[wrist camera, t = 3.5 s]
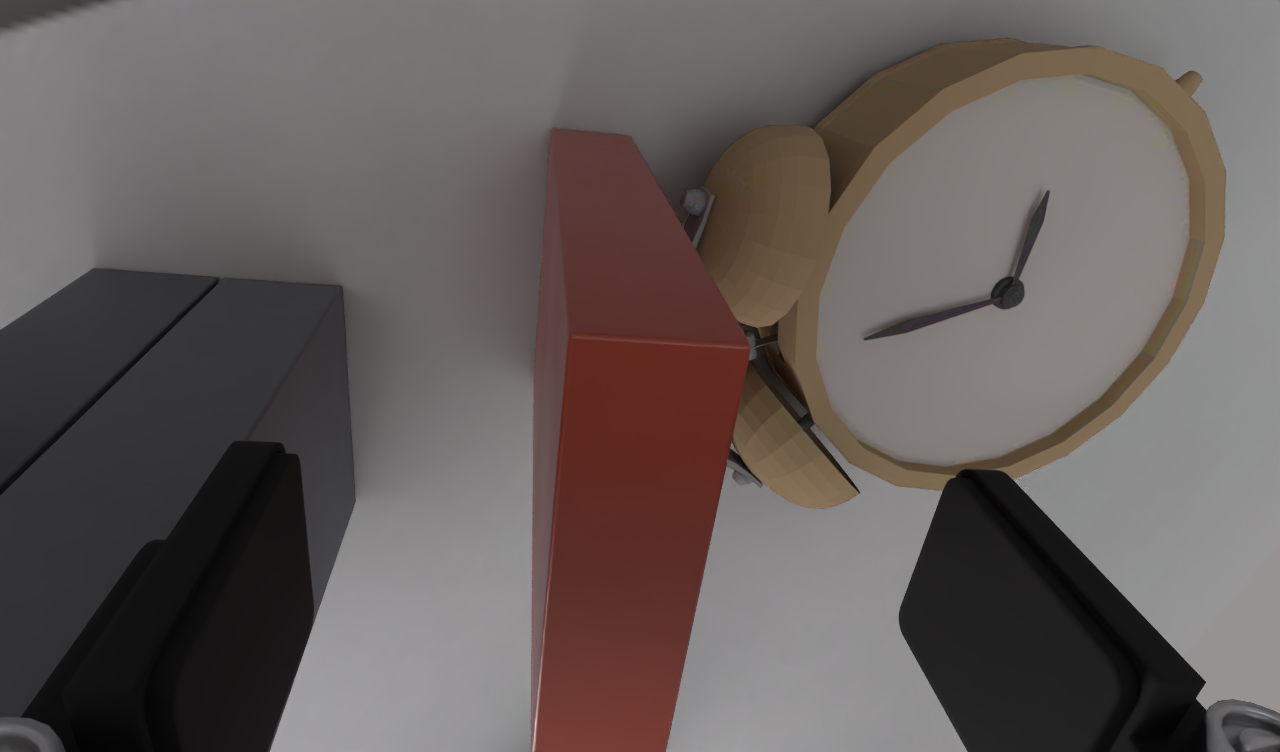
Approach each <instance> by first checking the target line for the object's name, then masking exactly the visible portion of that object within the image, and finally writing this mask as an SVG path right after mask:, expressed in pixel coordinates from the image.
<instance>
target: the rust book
mask: <svg viewBox="0 0 1280 752" xmlns="http://www.w3.org/2000/svg"><path fill="white" fill-rule="evenodd" d="M750 352H751V344H750V342H749V341H748V339H747V337H746V336H745V334H744V332H743V330H742V329H741V327H740V325H739V323H738V322H737V320H736V318H735V316H734V315H733V313H732V311H731V310H730V308H729V306H728V304H727V303H726V301H725V299H724V297H723V296H722V294H721V292H720V290H719V289H718V287H717V285H716V283H715V282H714V280H713V278H712V277H711V275H710V273H709V271H708V270H707V268H706V266H705V264H704V263H703V261H702V259H701V257H700V256H699V254H698V252H697V251H696V249H695V247H694V245H693V244H692V242H691V240H690V238H689V237H688V235H687V233H686V231H685V230H684V228H683V226H682V225H681V223H680V221H679V219H678V218H677V216H676V214H675V212H674V211H673V209H672V207H671V205H670V204H669V202H668V200H667V198H666V197H665V195H664V193H663V192H662V190H661V188H660V186H659V185H658V183H657V181H656V179H655V178H654V176H653V174H652V172H651V171H650V169H649V167H648V166H647V164H646V162H645V160H644V159H643V157H642V155H641V153H640V152H639V150H638V148H637V146H636V145H635V143H634V141H633V140H632V138H631V137H630V136H624V135H615V134H606V133H596V132H587V131H577V130H568V129H559V128H551V130H550V142H549V157H548V172H547V187H546V202H545V217H544V232H543V247H542V262H541V277H540V292H539V307H538V322H537V337H536V352H535V367H534V402H533V526H532V650H531V752H666V749H667V744H668V739H669V734H670V730H671V725H672V720H673V715H674V711H675V706H676V701H677V697H678V692H679V687H680V682H681V678H682V673H683V668H684V664H685V659H686V654H687V649H688V645H689V640H690V635H691V630H692V626H693V621H694V616H695V612H696V607H697V602H698V597H699V593H700V588H701V583H702V578H703V574H704V569H705V564H706V560H707V555H708V550H709V545H710V541H711V536H712V531H713V527H714V522H715V517H716V512H717V508H718V503H719V498H720V493H721V489H722V484H723V479H724V475H725V470H726V465H727V460H728V456H729V451H730V446H731V442H732V437H733V432H734V427H735V423H736V418H737V413H738V408H739V404H740V399H741V394H742V390H743V385H744V380H745V375H746V371H747V366H748V361H749V356H750Z"/></svg>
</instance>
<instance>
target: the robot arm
mask: <svg viewBox="0 0 1280 752" xmlns="http://www.w3.org/2000/svg"><path fill="white" fill-rule="evenodd" d="M313 617H314V600H313V589H312V579H311V568H310V558H309V548H308V537H307V527H306V516H305V506H304V495H303V485H302V474H301V464H300V459H299V456H298V455H297V454H292V453H286V450H285V447H284V445H283V444H282V443H281V442H263V441H238V440H237V441H234V442H233V443H232V444H231V445H230V446H229V447H228V449H227V450H226V452H225V453H224V455H223V456H222V458H221V459H220V460H219V462H218V463H217V465H216V466H215V468H214V469H213V471H212V472H211V474H210V475H209V477H208V478H207V480H206V481H205V483H204V484H203V485H202V487H201V488H200V490H199V491H198V493H197V494H196V496H195V497H194V499H193V500H192V502H191V503H190V505H189V506H188V507H187V509H186V510H185V512H184V513H183V515H182V516H181V518H180V519H179V521H178V522H177V524H176V525H175V527H174V528H173V530H172V531H171V532H170V534H169V535H168V537H167V538H166V540H159V539H154V540H152V541H150V542H148V543H146V544H145V545H144V546H143V547H142V549H141V550H140V551H139V552H138V553H137V555H136V556H135V557H134V559H133V560H132V562H131V563H130V564H129V566H128V567H127V569H126V570H125V571H124V573H123V574H122V576H121V577H120V578H119V580H118V581H117V583H116V584H115V585H114V587H113V588H112V590H111V591H110V592H109V594H108V595H107V597H106V598H105V599H104V601H103V602H102V604H101V605H100V606H99V608H98V609H97V611H96V612H95V613H94V615H93V616H92V618H91V619H90V620H89V622H88V623H87V625H86V626H85V627H84V629H83V630H82V632H81V633H80V634H79V636H78V637H77V639H76V640H75V641H74V643H73V644H72V646H71V647H70V648H69V650H68V651H67V653H66V654H65V655H64V657H63V658H62V660H61V661H60V662H59V664H58V665H57V667H56V668H55V669H54V671H53V672H52V674H51V675H50V676H49V678H48V679H47V681H46V682H45V683H44V685H43V686H42V688H41V689H40V690H39V692H38V693H37V695H36V696H35V697H34V699H33V700H32V702H31V703H30V704H29V706H28V707H27V709H26V710H25V711H24V713H23V714H22V716H21V717H20V718H14V717H2V718H0V752H268V750H269V747H270V744H271V742H272V739H273V736H274V733H275V730H276V728H277V725H278V722H279V719H280V717H281V714H282V711H283V708H284V705H285V703H286V700H287V697H288V694H289V691H290V689H291V686H292V683H293V680H294V677H295V675H296V672H297V669H298V666H299V663H300V661H301V658H302V655H303V652H304V650H305V647H306V644H307V641H308V638H309V636H310V632H311V629H312V624H313ZM899 625H900V629H901V632H902V634H903V636H904V638H905V640H906V642H907V644H908V645H909V647H910V649H911V651H912V653H913V654H914V656H915V658H916V660H917V662H918V663H919V665H920V667H921V669H922V671H923V672H924V674H925V676H926V678H927V680H928V681H929V683H930V685H931V687H932V688H933V690H934V692H935V694H936V696H937V697H938V699H939V701H940V703H941V705H942V706H943V708H944V710H945V712H946V714H947V715H948V717H949V719H950V721H951V723H952V724H953V726H954V728H955V730H956V732H957V733H958V735H959V737H960V739H961V741H962V742H963V744H964V746H965V748H966V750H967V751H968V752H1280V714H1279V713H1277V712H1275V711H1273V710H1271V709H1268V708H1265V707H1262V706H1260V705H1257V704H1254V703H1251V702H1245V701H1239V700H1234V699H1231V700H1222V701H1217V702H1216V703H1214V704H1213V705H1211V706H1210V707H1209V708H1208V709H1207V711H1206V709H1205V708H1204V707H1203V706H1202V705H1201V704H1200V703H1199V702H1198V701H1197V700H1196V697H1197V695H1198V694H1199V692H1200V691H1201V689H1202V688H1203V686H1204V684H1205V683H1206V682H1205V681H1204V680H1203V679H1202V677H1201V676H1200V675H1199V674H1198V673H1197V672H1196V671H1195V670H1194V669H1193V668H1192V667H1191V666H1190V665H1189V664H1188V663H1187V662H1186V661H1185V660H1184V659H1183V658H1182V657H1181V655H1180V654H1179V653H1178V652H1177V651H1176V650H1175V649H1174V648H1173V647H1172V646H1171V645H1170V644H1169V643H1168V642H1167V641H1166V640H1165V639H1164V638H1163V637H1162V636H1161V635H1160V633H1159V632H1158V631H1157V630H1156V629H1155V628H1154V627H1153V626H1152V625H1151V624H1150V623H1149V622H1148V621H1147V620H1146V619H1145V618H1144V617H1143V616H1142V615H1141V614H1140V613H1139V611H1138V610H1137V609H1136V608H1135V607H1134V606H1133V605H1132V604H1131V603H1130V602H1129V601H1128V600H1127V599H1126V598H1125V597H1124V596H1123V595H1122V594H1121V593H1120V592H1119V591H1118V589H1117V588H1116V587H1115V586H1114V585H1113V584H1112V583H1111V582H1110V581H1109V580H1108V579H1107V578H1106V577H1105V576H1104V575H1103V574H1102V573H1101V572H1100V571H1099V570H1098V569H1097V567H1096V566H1095V565H1094V564H1093V563H1092V562H1091V561H1090V560H1089V559H1088V558H1087V557H1086V556H1085V555H1084V554H1083V553H1082V552H1081V551H1080V550H1079V549H1078V548H1077V547H1076V545H1075V544H1074V543H1073V542H1072V541H1071V540H1070V539H1069V538H1068V537H1067V536H1066V535H1065V534H1064V533H1063V532H1062V531H1061V530H1060V529H1059V528H1058V527H1057V526H1056V525H1055V523H1054V522H1053V521H1052V520H1051V519H1050V518H1049V517H1048V516H1047V515H1046V514H1045V513H1044V512H1043V511H1042V510H1041V509H1040V508H1039V507H1038V506H1037V505H1036V504H1035V503H1034V502H1033V500H1032V499H1031V498H1030V497H1029V496H1028V495H1027V494H1026V493H1025V492H1024V491H1023V490H1022V489H1021V488H1020V487H1019V486H1018V485H1017V484H1016V483H1015V482H1014V481H1013V480H1012V478H1011V477H1010V476H1009V475H1008V474H1006V473H1005V472H1003V471H1000V470H983V469H964V470H961V471H960V472H959V473H958V474H957V475H956V477H955V478H951V479H949V480H948V481H947V483H946V485H945V487H944V489H943V492H942V495H941V497H940V500H939V503H938V506H937V508H936V511H935V514H934V517H933V519H932V522H931V525H930V528H929V530H928V533H927V536H926V539H925V541H924V544H923V547H922V550H921V552H920V555H919V558H918V561H917V563H916V566H915V569H914V572H913V574H912V577H911V580H910V582H909V585H908V588H907V591H906V593H905V596H904V599H903V602H902V604H901V607H900V611H899Z"/></svg>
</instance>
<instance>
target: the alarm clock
mask: <svg viewBox="0 0 1280 752" xmlns="http://www.w3.org/2000/svg"><path fill="white" fill-rule="evenodd" d="M1201 82H1202V77H1201V75H1200V74H1198V73H1197V72H1194V71H1189V72H1187V73H1186V74H1184V75H1183V76H1181V77H1180V78H1179V79H1177V80H1176V81H1174V80H1173V79H1172V77H1171V76H1170V75H1169V74H1168V73H1167V72H1166V71H1165V70H1164V69H1163V68H1161V67H1158V66H1155V65H1152V64H1149V63H1146V62H1143V61H1140V60H1137V59H1134V58H1131V57H1128V56H1125V55H1122V54H1119V53H1116V52H1113V51H1110V50H1107V49H1104V48H1101V47H1098V46H1077V47H1067V46H1056V45H1046V44H1035V43H1027V42H1023V41H1020V40H1017V39H1010V38H1005V39H994V40H983V41H971V42H960V43H948V44H941V45H938V46H936V47H934V48H932V49H929V50H927V51H925V52H923V53H921V54H918V55H916V56H914V57H912V58H910V59H907V60H905V61H903V62H901V63H898V64H896V65H894V66H892V67H890V68H887V69H885V70H883V71H881V72H879V73H876V74H874V75H873V76H872V77H871V78H870V79H869V80H867V81H866V82H865V83H864V84H863V85H862V86H861V87H859V88H858V89H857V90H856V91H855V92H854V93H852V94H851V95H850V96H849V97H848V98H847V99H846V100H844V101H843V102H842V103H841V104H840V105H839V106H838V107H836V108H835V109H834V110H833V111H832V112H831V113H829V114H828V115H827V116H826V117H825V118H824V119H823V120H821V121H820V122H819V123H818V124H817V125H816V126H815V128H814V129H812V128H811V127H806V126H800V125H768V126H764V127H760V128H757V129H754V130H753V131H751V132H749V133H747V134H746V135H744V136H743V137H741V138H740V139H739V140H737V141H736V142H735V143H733V144H732V145H731V146H730V147H729V148H727V149H726V150H725V151H724V153H723V154H722V155H721V157H720V158H719V160H718V161H717V162H716V164H715V165H714V167H713V168H712V169H711V171H710V173H709V175H708V177H707V180H706V182H705V184H704V186H700V187H699V190H697V189H691V190H686V191H684V192H683V194H682V196H681V200H680V205H681V206H682V207H683V209H684V210H685V211H686V212H687V213H689V214H690V215H689V217H688V219H687V222H686V224H685V226H684V230H685V231H686V233H687V235H688V237H689V238H690V240H691V242H692V244H693V245H694V247H695V249H696V251H697V252H698V254H699V256H700V257H701V259H702V261H703V263H704V264H705V266H706V268H707V270H708V271H709V273H710V275H711V277H712V278H713V280H714V282H715V283H716V285H717V287H718V289H719V290H720V292H721V294H722V296H723V297H724V299H725V301H726V303H727V304H728V306H729V308H730V310H731V311H732V313H733V315H734V316H735V318H736V320H737V321H739V322H741V323H743V324H746V325H749V326H753V327H757V329H758V332H759V335H760V338H759V339H756V340H755V338H754V333H753V332H751V331H745V332H744V334H745V336H746V337H747V339H748V341H749V342H750V344H751V352H750V356H749V361H748V366H747V371H746V375H745V380H744V385H743V390H742V394H741V399H740V404H739V408H738V413H737V418H736V423H735V427H734V432H733V437H732V443H733V445H734V447H735V449H736V451H737V452H738V454H739V455H740V456H739V455H738V454H737V453H735V452H734V451H733V450H731V449H730V451H729V456H728V460H727V465H726V466H728V467H730V468H732V469H734V473H733V478H734V480H735V481H736V482H737V483H738V484H739V485H745V484H749V483H750V482H752V481H753V482H755V483H756V484H757V485H758V486H759V487H760V488H761V487H762V486H763V485H762V483H763V484H765V485H766V486H767V487H768V488H770V489H771V490H772V491H773V492H775V493H776V494H778V495H779V496H781V497H783V498H784V499H786V500H788V501H790V502H792V503H794V504H797V505H799V506H803V507H808V508H820V509H823V508H828V507H833V506H837V505H839V504H841V503H844V502H846V501H848V500H850V499H851V498H853V497H854V496H856V495H858V494H859V493H860V492H859V490H858V489H857V487H856V486H855V484H854V483H853V482H852V480H851V479H850V478H849V476H848V475H847V474H846V473H845V471H844V470H843V469H842V467H841V466H840V465H839V464H838V462H837V461H836V460H835V459H834V457H833V456H832V455H831V454H830V452H829V451H828V450H827V449H826V448H825V446H824V445H823V444H822V443H821V441H820V440H819V439H818V438H817V437H816V435H815V434H814V433H813V432H812V431H811V429H810V427H812V426H813V425H814V424H816V425H817V426H818V427H819V429H820V430H821V431H822V432H823V433H824V434H825V436H826V437H827V438H828V439H829V440H830V441H831V442H832V444H833V445H834V446H835V447H836V448H837V449H838V451H839V452H840V453H841V454H842V455H843V456H844V458H845V459H846V460H847V461H848V462H849V463H851V464H853V465H855V466H857V467H859V468H861V469H863V470H865V471H867V472H869V473H871V474H873V475H875V476H877V477H879V478H881V479H883V480H885V481H887V482H889V483H891V484H893V485H895V486H901V487H910V488H920V489H929V490H938V491H943V489H944V487H945V485H946V483H947V481H948V480H949V479H951V478H955V477H956V475H957V474H958V473H959V472H960V471H961V470H964V469H983V470H1000V471H1003V472H1005V473H1006V474H1008V475H1009V476H1010V477H1011V478H1012V480H1013V479H1015V478H1017V477H1020V476H1022V475H1024V474H1026V473H1028V472H1031V471H1033V470H1035V469H1037V468H1040V467H1042V466H1044V465H1046V464H1049V463H1051V462H1053V461H1055V460H1057V459H1060V458H1062V457H1064V456H1066V455H1068V454H1069V453H1071V452H1072V451H1073V450H1075V449H1076V448H1077V447H1079V446H1080V445H1082V444H1083V443H1084V442H1086V441H1087V440H1088V439H1090V438H1091V437H1092V436H1094V435H1095V434H1097V433H1098V432H1099V431H1101V430H1102V429H1103V428H1105V427H1106V426H1107V425H1109V424H1110V423H1111V422H1113V421H1114V420H1116V419H1117V418H1118V417H1120V416H1121V415H1122V414H1123V413H1124V412H1125V411H1126V409H1127V408H1128V407H1129V406H1130V405H1131V404H1132V403H1133V402H1134V401H1135V400H1136V398H1137V397H1138V396H1139V395H1140V394H1141V393H1142V392H1143V391H1144V390H1145V389H1146V387H1147V386H1148V385H1149V384H1150V383H1151V382H1152V381H1153V380H1154V379H1155V378H1156V376H1157V375H1158V374H1159V373H1160V372H1161V371H1162V370H1163V369H1164V368H1165V367H1166V365H1167V364H1168V363H1169V361H1170V360H1171V358H1172V356H1173V354H1174V353H1175V351H1176V349H1177V348H1178V346H1179V344H1180V343H1181V341H1182V339H1183V337H1184V336H1185V334H1186V332H1187V331H1188V329H1189V327H1190V326H1191V324H1192V322H1193V320H1194V319H1195V317H1196V315H1197V314H1198V312H1199V310H1200V309H1201V307H1202V305H1203V303H1204V301H1205V297H1206V294H1207V291H1208V288H1209V285H1210V281H1211V278H1212V275H1213V272H1214V269H1215V265H1216V262H1217V259H1218V256H1219V253H1220V249H1221V246H1222V243H1223V240H1224V230H1225V185H1226V170H1225V167H1224V164H1223V161H1222V158H1221V156H1220V153H1219V150H1218V147H1217V144H1216V141H1215V138H1214V135H1213V133H1212V130H1211V127H1210V124H1209V121H1208V118H1207V115H1206V113H1205V111H1204V110H1203V109H1202V108H1201V107H1200V106H1199V105H1198V104H1197V103H1196V102H1195V101H1194V100H1193V99H1192V98H1191V96H1192V95H1193V94H1194V92H1195V91H1196V89H1197V88H1198V86H1199V85H1200V83H1201ZM760 346H763V347H764V350H765V352H766V355H767V358H768V361H769V364H770V367H771V369H772V370H773V371H774V373H775V374H776V375H777V376H778V377H779V378H780V380H781V381H782V382H783V383H784V384H785V385H786V387H787V388H788V389H789V390H790V391H791V392H792V394H793V395H794V396H795V397H796V398H797V399H798V401H799V402H800V403H801V404H802V405H803V406H804V408H805V409H806V410H807V412H808V413H807V414H806V415H804V416H803V417H802V418H801V417H800V416H799V415H798V414H797V413H796V411H795V410H794V409H793V408H792V407H791V406H790V404H789V403H788V402H787V401H786V400H785V399H784V397H783V396H782V395H781V394H780V393H779V392H778V391H777V389H776V388H775V387H774V386H773V385H772V384H771V382H770V381H769V380H768V379H767V378H766V377H765V376H764V375H763V374H762V372H761V371H760V370H759V369H758V368H757V367H756V366H755V365H754V364H753V363H752V362H751V361H750V360H753V359H755V358H756V357H757V351H756V348H757V347H760ZM761 482H762V483H761Z"/></svg>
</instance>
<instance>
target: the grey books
mask: <svg viewBox="0 0 1280 752" xmlns="http://www.w3.org/2000/svg"><path fill="white" fill-rule="evenodd" d="M237 440H238V441H263V442H281V443H282V444H283V445H284V447H285V450H286V453H292V454H297V455H298V456H299V459H300V464H301V474H302V485H303V495H304V506H305V516H306V527H307V537H308V548H309V558H310V568H311V579H312V589H313V600H314V617H313V624H314V621H315V618H316V615H317V612H318V610H319V607H320V604H321V601H322V598H323V595H324V592H325V589H326V586H327V583H328V580H329V578H330V575H331V572H332V569H333V566H334V563H335V560H336V557H337V554H338V551H339V548H340V546H341V543H342V540H343V537H344V534H345V531H346V528H347V525H348V522H349V519H350V516H351V514H352V511H353V508H354V505H355V486H354V470H353V453H352V437H351V421H350V404H349V388H348V371H347V355H346V338H345V322H344V305H343V289H342V287H340V286H328V285H314V284H299V283H285V282H270V281H256V280H241V279H227V278H225V279H222V280H221V281H220V282H218V278H216V277H204V276H189V275H175V274H160V273H146V272H132V271H117V270H103V269H92V270H90V271H89V272H87V273H86V274H84V275H83V276H81V277H80V278H78V279H77V280H75V281H74V282H72V283H71V284H69V285H68V286H66V287H65V288H63V289H62V290H60V291H58V292H57V293H55V294H54V295H52V296H51V297H49V298H48V299H46V300H45V301H43V302H42V303H40V304H39V305H37V306H36V307H34V308H33V309H31V310H30V311H28V312H27V313H25V314H24V315H22V316H21V317H19V318H18V319H16V320H15V321H13V322H12V323H10V324H9V325H7V326H6V327H4V328H3V329H1V330H0V718H2V717H14V718H20V717H21V716H22V714H23V713H24V711H25V710H26V709H27V707H28V706H29V704H30V703H31V702H32V700H33V699H34V697H35V696H36V695H37V693H38V692H39V690H40V689H41V688H42V686H43V685H44V683H45V682H46V681H47V679H48V678H49V676H50V675H51V674H52V672H53V671H54V669H55V668H56V667H57V665H58V664H59V662H60V661H61V660H62V658H63V657H64V655H65V654H66V653H67V651H68V650H69V648H70V647H71V646H72V644H73V643H74V641H75V640H76V639H77V637H78V636H79V634H80V633H81V632H82V630H83V629H84V627H85V626H86V625H87V623H88V622H89V620H90V619H91V618H92V616H93V615H94V613H95V612H96V611H97V609H98V608H99V606H100V605H101V604H102V602H103V601H104V599H105V598H106V597H107V595H108V594H109V592H110V591H111V590H112V588H113V587H114V585H115V584H116V583H117V581H118V580H119V578H120V577H121V576H122V574H123V573H124V571H125V570H126V569H127V567H128V566H129V564H130V563H131V562H132V560H133V559H134V557H135V556H136V555H137V553H138V552H139V551H140V550H141V549H142V547H143V546H144V545H145V544H146V543H148V542H150V541H152V540H154V539H159V540H166V538H167V537H168V535H169V534H170V532H171V531H172V530H173V528H174V527H175V525H176V524H177V522H178V521H179V519H180V518H181V516H182V515H183V513H184V512H185V510H186V509H187V507H188V506H189V505H190V503H191V502H192V500H193V499H194V497H195V496H196V494H197V493H198V491H199V490H200V488H201V487H202V485H203V484H204V483H205V481H206V480H207V478H208V477H209V475H210V474H211V472H212V471H213V469H214V468H215V466H216V465H217V463H218V462H219V460H220V459H221V458H222V456H223V455H224V453H225V452H226V450H227V449H228V447H229V446H230V445H231V444H232V443H233V442H234V441H237ZM313 624H312V627H313ZM311 630H312V629H311ZM310 633H311V632H310ZM308 639H309V638H308ZM307 642H308V641H307ZM303 653H304V652H303ZM302 656H303V655H302ZM301 659H302V658H301ZM300 662H301V661H300ZM299 665H300V663H299ZM298 668H299V666H298ZM297 671H298V669H297ZM296 674H297V672H296ZM295 677H296V675H295ZM295 677H294V679H295ZM293 682H294V680H293ZM292 685H293V683H292ZM291 688H292V686H291ZM290 691H291V689H290ZM290 691H289V694H290ZM289 694H288V697H289ZM288 697H287V700H288ZM287 700H286V703H287ZM286 703H285V705H284V708H283V711H284V709H285V706H286ZM283 711H282V714H283ZM282 714H281V717H282ZM281 717H280V719H279V722H278V725H277V728H276V730H275V733H274V736H273V739H272V742H271V744H270V747H269V750H268V752H270V749H271V746H272V743H273V741H274V738H275V735H276V732H277V729H278V726H279V723H280V720H281Z"/></svg>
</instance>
